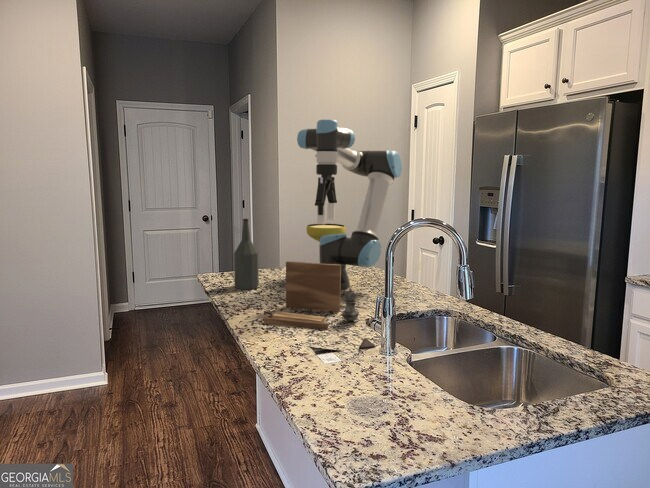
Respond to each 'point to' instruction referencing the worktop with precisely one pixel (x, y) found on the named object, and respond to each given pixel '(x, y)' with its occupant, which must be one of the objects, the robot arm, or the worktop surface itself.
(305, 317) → the upper offcut
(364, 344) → the chocolate bar
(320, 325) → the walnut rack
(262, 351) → the worktop surface
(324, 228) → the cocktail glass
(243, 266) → the bottle
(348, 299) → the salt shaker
